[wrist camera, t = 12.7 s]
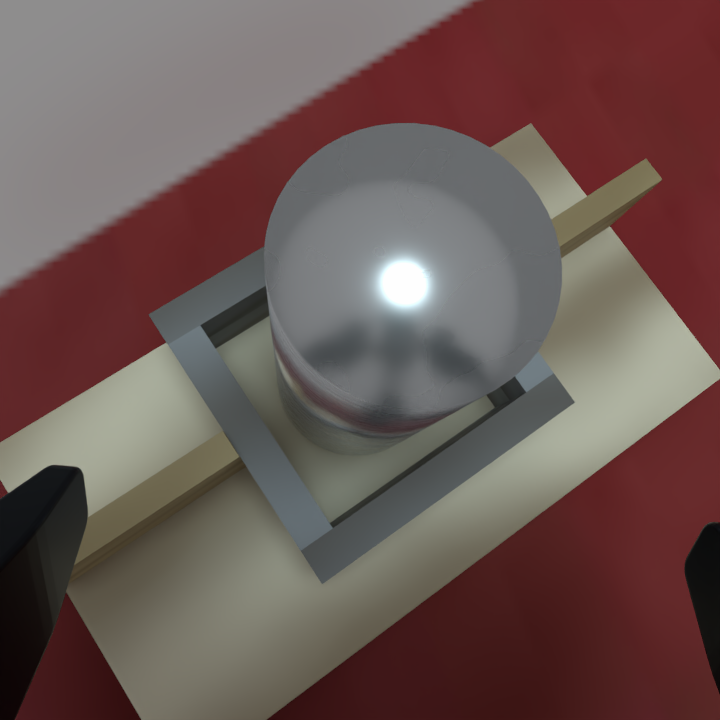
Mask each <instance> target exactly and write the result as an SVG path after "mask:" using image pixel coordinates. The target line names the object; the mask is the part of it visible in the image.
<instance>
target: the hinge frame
mask: <svg viewBox="0 0 720 720" xmlns="http://www.w3.org/2000/svg"><path fill="white" fill-rule="evenodd" d="M491 149H492V150H494V151H495V152H497V153H498V154H500V155H501V156H502V157H504V158H505V159H506V160H507V161H508V162H509V163H511V164H512V165H513V166H514V167H515V168H516V169H517V170H518V171H519V172H520V173H521V174H522V175H523V176H524V177H525V178H526V180H527V181H528V182H529V183H530V185H531V186H532V187H533V189H534V190H535V191H536V193H537V194H538V196H539V197H540V199H541V201H542V203H543V204H544V206H545V208H546V210H547V211H548V214H549V216H550V219H551V221H552V223H553V226H554V228H555V232H556V235H557V239H558V243H559V247H560V254H561V262H562V287H561V294H560V301H559V305H558V309H557V312H556V316H555V319H554V322H553V324H552V326H551V329H550V331H549V333H548V335H547V337H546V339H545V341H544V342H543V344H542V345H541V347H540V349H539V350H538V352H537V353H536V354H535V355H534V357H533V358H532V359H531V360H530V361H529V363H528V364H527V365H526V366H525V367H524V368H523V369H522V370H521V371H520V372H519V373H518V374H516V375H515V376H514V377H513V378H512V379H511V380H509V381H508V382H506V383H505V384H503V385H502V386H500V387H499V388H497V389H496V390H494V391H493V392H491V393H489V394H487V395H485V396H484V397H482V398H480V399H478V400H476V401H475V402H473V403H471V404H469V405H467V406H465V407H464V408H462V409H460V410H458V411H456V412H455V413H453V414H451V415H449V416H447V417H446V418H444V419H442V420H440V421H438V422H437V423H435V424H433V425H431V426H429V427H428V428H426V429H424V430H422V431H420V432H418V433H417V434H415V435H413V436H411V437H409V438H408V439H406V440H404V441H402V442H400V443H399V444H397V445H395V446H393V447H391V448H389V449H387V450H384V451H381V452H378V453H374V454H369V455H359V456H353V455H343V454H339V453H334V452H331V451H329V450H326V449H324V448H322V447H320V446H318V445H316V444H314V443H313V442H311V441H310V440H309V439H307V438H306V437H305V436H304V435H303V434H302V433H300V432H299V431H298V429H297V428H296V427H295V426H294V425H293V423H292V422H291V420H290V419H289V417H288V416H287V414H286V412H285V410H284V408H283V405H282V402H281V399H280V396H279V391H278V385H277V376H276V367H275V359H274V350H273V341H272V333H271V324H270V315H269V307H268V298H267V290H266V281H265V272H264V248H265V246H264V247H262V248H261V249H259V250H257V251H256V252H254V253H252V254H251V255H249V256H247V257H245V258H244V259H242V260H240V261H239V262H237V263H235V264H234V265H232V266H230V267H229V268H227V269H225V270H223V271H222V272H220V273H218V274H217V275H215V276H213V277H212V278H210V279H208V280H206V281H205V282H203V283H201V284H200V285H198V286H196V287H195V288H193V289H191V290H189V291H188V292H186V293H184V294H183V295H181V296H179V297H178V298H176V299H174V300H172V301H171V302H169V303H167V304H166V305H164V306H162V307H161V308H159V309H157V310H155V311H154V312H152V313H150V314H149V316H150V318H151V319H152V321H153V322H154V324H155V325H156V327H157V328H158V330H159V332H160V333H161V335H162V336H163V338H164V339H165V341H166V342H167V343H165V344H163V345H162V346H160V347H158V348H157V349H155V350H153V351H152V352H150V353H148V354H147V355H145V356H143V357H142V358H140V359H138V360H137V361H135V362H133V363H132V364H130V365H128V366H127V367H125V368H123V369H122V370H120V371H118V372H117V373H115V374H113V375H112V376H110V377H108V378H107V379H105V380H104V381H102V382H100V383H99V384H97V385H95V386H94V387H92V388H90V389H89V390H87V391H85V392H84V393H82V394H80V395H79V396H77V397H75V398H74V399H72V400H70V401H69V402H67V403H65V404H64V405H62V406H60V407H59V408H57V409H55V410H54V411H52V412H50V413H49V414H47V415H45V416H44V417H42V418H40V419H39V420H37V421H35V422H34V423H32V424H30V425H29V426H27V427H25V428H24V429H22V430H20V431H19V432H17V433H15V434H14V435H12V436H10V437H9V438H7V439H5V440H4V441H2V442H0V480H1V481H2V483H3V485H4V487H5V488H6V490H7V492H8V493H9V492H11V491H12V490H14V489H15V488H17V487H18V486H19V485H21V484H22V483H24V482H25V481H27V480H28V479H30V478H31V477H32V476H34V475H35V474H37V473H38V472H40V471H41V470H42V469H44V468H46V467H47V466H50V465H64V466H75V467H78V468H80V469H81V470H82V472H83V475H84V482H85V490H86V498H87V506H88V519H87V525H86V529H85V532H84V535H83V538H82V542H81V545H80V548H79V551H78V554H77V558H76V561H75V564H74V567H73V571H72V574H71V577H70V580H69V583H68V587H67V590H66V592H67V594H68V596H69V597H70V599H71V601H72V602H73V604H74V606H75V607H76V609H77V611H78V613H79V614H80V616H81V618H82V619H83V621H84V623H85V625H86V626H87V628H88V630H89V631H90V633H91V635H92V636H93V638H94V640H95V642H96V643H97V645H98V647H99V648H100V650H101V652H102V653H103V655H104V657H105V659H106V660H107V662H108V664H109V665H110V667H111V669H112V670H113V672H114V674H115V676H116V677H117V679H118V681H119V682H120V684H121V686H122V688H123V689H124V691H125V693H126V694H127V696H128V698H129V699H130V701H131V703H132V705H133V706H134V708H135V710H136V711H137V713H138V715H139V716H140V718H141V720H267V719H268V718H269V717H271V716H272V715H273V714H275V713H276V712H277V711H278V710H280V709H281V708H282V707H284V706H285V705H286V704H288V703H289V702H290V701H292V700H293V699H294V698H296V697H297V696H298V695H300V694H301V693H302V692H304V691H305V690H306V689H308V688H309V687H310V686H312V685H313V684H314V683H316V682H317V681H318V680H320V679H321V678H322V677H324V676H325V675H326V674H328V673H329V672H330V671H332V670H333V669H334V668H336V667H337V666H338V665H340V664H341V663H342V662H344V661H345V660H346V659H348V658H349V657H350V656H352V655H353V654H354V653H356V652H357V651H358V650H360V649H361V648H362V647H364V646H365V645H366V644H368V643H369V642H370V641H372V640H373V639H374V638H376V637H377V636H378V635H380V634H381V633H382V632H384V631H385V630H386V629H388V628H389V627H390V626H392V625H393V624H394V623H395V622H397V621H398V620H399V619H401V618H402V617H403V616H405V615H406V614H407V613H409V612H410V611H411V610H413V609H414V608H415V607H417V606H418V605H419V604H421V603H422V602H423V601H425V600H426V599H427V598H429V597H430V596H431V595H433V594H434V593H435V592H437V591H438V590H439V589H441V588H442V587H443V586H445V585H446V584H447V583H449V582H450V581H451V580H453V579H454V578H455V577H457V576H458V575H459V574H461V573H462V572H463V571H465V570H466V569H467V568H469V567H470V566H471V565H473V564H474V563H475V562H477V561H478V560H479V559H481V558H482V557H483V556H485V555H486V554H487V553H489V552H490V551H491V550H493V549H494V548H495V547H497V546H498V545H499V544H501V543H502V542H503V541H505V540H506V539H507V538H508V537H510V536H511V535H512V534H514V533H515V532H516V531H518V530H519V529H520V528H522V527H523V526H524V525H526V524H527V523H528V522H530V521H531V520H532V519H534V518H535V517H536V516H538V515H539V514H540V513H542V512H543V511H544V510H546V509H547V508H548V507H550V506H551V505H552V504H554V503H555V502H556V501H558V500H559V499H560V498H562V497H563V496H564V495H566V494H567V493H568V492H570V491H571V490H572V489H574V488H575V487H576V486H578V485H579V484H580V483H582V482H583V481H584V480H586V479H587V478H588V477H590V476H591V475H592V474H594V473H595V472H596V471H598V470H599V469H600V468H602V467H603V466H604V465H606V464H607V463H608V462H610V461H611V460H612V459H614V458H615V457H616V456H618V455H619V454H620V453H622V452H623V451H624V450H625V449H627V448H628V447H629V446H631V445H632V444H633V443H635V442H636V441H637V440H639V439H640V438H641V437H643V436H644V435H645V434H647V433H648V432H649V431H651V430H652V429H653V428H655V427H656V426H657V425H659V424H660V423H661V422H663V421H664V420H665V419H667V418H668V417H669V416H671V415H672V414H673V413H675V412H676V411H677V410H679V409H680V408H681V407H683V406H684V405H685V404H687V403H688V402H689V401H691V400H692V399H693V398H695V397H696V396H697V395H699V394H700V393H701V392H703V391H704V390H705V389H707V388H708V387H709V386H711V385H712V384H713V383H715V382H716V381H717V380H719V379H720V370H719V369H718V367H717V366H716V365H715V363H714V362H713V361H712V359H711V358H710V357H709V356H708V354H707V353H706V352H705V350H704V349H703V348H702V346H701V345H700V344H699V342H698V341H697V340H696V339H695V337H694V336H693V335H692V333H691V332H690V331H689V329H688V328H687V327H686V325H685V324H684V323H683V322H682V320H681V319H680V318H679V316H678V315H677V314H676V312H675V311H674V310H673V308H672V307H671V306H670V305H669V303H668V302H667V301H666V299H665V298H664V297H663V295H662V294H661V293H660V291H659V290H658V289H657V288H656V286H655V285H654V284H653V282H652V281H651V280H650V278H649V277H648V276H647V274H646V273H645V272H644V271H643V269H642V268H641V267H640V265H639V264H638V263H637V261H636V260H635V259H634V257H633V256H632V255H631V254H630V252H629V251H628V250H627V248H626V247H625V246H624V244H623V243H622V242H621V240H620V239H619V238H618V237H617V235H616V234H615V233H614V231H613V230H612V229H611V227H610V225H612V224H613V223H614V222H615V221H616V220H617V219H618V218H619V217H621V216H622V215H623V214H624V213H625V212H626V211H627V210H628V209H630V208H631V207H632V206H633V205H634V204H635V203H636V202H638V201H639V200H640V199H641V198H642V197H643V196H644V195H645V194H647V193H648V192H649V191H650V190H651V189H652V188H653V187H654V186H656V185H657V184H658V183H659V182H660V181H661V180H662V178H661V177H660V176H659V174H658V173H657V172H656V171H655V169H654V168H653V167H652V166H651V164H650V163H649V162H648V160H647V159H644V160H643V161H641V162H640V163H638V164H637V165H635V166H634V167H632V168H630V169H629V170H627V171H626V172H624V173H623V174H621V175H620V176H618V177H616V178H615V179H613V180H612V181H610V182H609V183H607V184H606V185H604V186H602V187H601V188H599V189H598V190H596V191H595V192H593V193H592V194H590V195H588V196H586V195H585V193H584V192H583V191H582V189H581V188H580V187H579V186H578V184H577V183H576V182H575V180H574V179H573V178H572V176H571V175H570V174H569V172H568V171H567V170H566V169H565V167H564V166H563V165H562V163H561V162H560V161H559V159H558V158H557V157H556V155H555V154H554V153H553V152H552V150H551V149H550V148H549V146H548V145H547V144H546V142H545V141H544V140H543V138H542V137H541V136H540V135H539V133H538V132H537V131H536V129H535V128H534V127H533V125H532V124H529V125H527V126H526V127H524V128H522V129H521V130H519V131H517V132H516V133H514V134H512V135H511V136H509V137H507V138H506V139H504V140H502V141H501V142H499V143H497V144H496V145H494V146H492V147H491Z"/></svg>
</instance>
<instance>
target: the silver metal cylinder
mask: <svg viewBox="0 0 720 720" xmlns="http://www.w3.org/2000/svg"><path fill="white" fill-rule="evenodd" d="M264 272H265V281H266V290H267V298H268V307H269V315H270V324H271V333H272V341H273V350H274V359H275V367H276V376H277V385H278V391H279V396H280V399H281V402H282V405H283V408H284V410H285V412H286V414H287V416H288V417H289V419H290V420H291V422H292V423H293V425H294V426H295V427H296V428H297V429H298V431H299V432H300V433H302V434H303V435H304V436H305V437H306V438H307V439H309V440H310V441H311V442H313V443H314V444H316V445H318V446H320V447H322V448H324V449H326V450H329V451H331V452H334V453H339V454H343V455H353V456H359V455H369V454H374V453H378V452H381V451H384V450H387V449H389V448H391V447H393V446H395V445H397V444H399V443H400V442H402V441H404V440H406V439H408V438H409V437H411V436H413V435H415V434H417V433H418V432H420V431H422V430H424V429H426V428H428V427H429V426H431V425H433V424H435V423H437V422H438V421H440V420H442V419H444V418H446V417H447V416H449V415H451V414H453V413H455V412H456V411H458V410H460V409H462V408H464V407H465V406H467V405H469V404H471V403H473V402H475V401H476V400H478V399H480V398H482V397H484V396H485V395H487V394H489V393H491V392H493V391H494V390H496V389H497V388H499V387H500V386H502V385H503V384H505V383H506V382H508V381H509V380H511V379H512V378H513V377H514V376H515V375H516V374H518V373H519V372H520V371H521V370H522V369H523V368H524V367H525V366H526V365H527V364H528V363H529V361H530V360H531V359H532V358H533V357H534V355H535V354H536V353H537V352H538V350H539V349H540V347H541V345H542V344H543V342H544V341H545V339H546V337H547V335H548V333H549V331H550V329H551V326H552V324H553V322H554V319H555V316H556V312H557V309H558V305H559V301H560V294H561V287H562V262H561V254H560V247H559V243H558V239H557V235H556V232H555V228H554V226H553V223H552V221H551V219H550V216H549V214H548V211H547V210H546V208H545V206H544V204H543V203H542V201H541V199H540V197H539V196H538V194H537V193H536V191H535V190H534V189H533V187H532V186H531V185H530V183H529V182H528V181H527V180H526V178H525V177H524V176H523V175H522V174H521V173H520V172H519V171H518V170H517V169H516V168H515V167H514V166H513V165H512V164H511V163H509V162H508V161H507V160H506V159H505V158H504V157H502V156H501V155H500V154H498V153H497V152H495V151H494V150H492V149H491V148H489V147H488V146H486V145H484V144H482V143H480V142H479V141H477V140H475V139H473V138H471V137H469V136H466V135H463V134H461V133H458V132H455V131H453V130H449V129H445V128H441V127H437V126H432V125H424V124H416V123H394V124H386V125H377V126H373V127H369V128H365V129H361V130H358V131H355V132H353V133H350V134H348V135H345V136H342V137H341V138H339V139H337V140H335V141H333V142H331V143H330V144H328V145H326V146H325V147H323V148H322V149H320V150H319V151H318V152H316V153H315V154H314V155H312V156H311V157H310V158H309V159H308V160H307V161H306V162H305V163H304V164H303V165H302V166H301V167H300V168H299V169H298V170H297V171H296V172H295V174H294V175H293V176H292V177H291V179H290V180H289V181H288V182H287V184H286V186H285V187H284V189H283V191H282V192H281V194H280V196H279V197H278V199H277V202H276V204H275V207H274V209H273V211H272V214H271V216H270V220H269V224H268V228H267V232H266V238H265V248H264Z"/></svg>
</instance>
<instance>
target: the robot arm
mask: <svg viewBox="0 0 720 720" xmlns="http://www.w3.org/2000/svg"><path fill="white" fill-rule="evenodd" d="M87 519H88V506H87V498H86V490H85V482H84V475H83V472H82V470H81V469H80V468H78V467H75V466H64V465H50V466H47V467H46V468H44V469H42V470H41V471H40V472H38V473H37V474H35V475H34V476H32V477H31V478H30V479H28V480H27V481H25V482H24V483H22V484H21V485H19V486H18V487H17V488H15V489H14V490H12V491H11V492H9V493H8V494H6V495H5V496H4V497H2V498H1V499H0V720H15V718H16V716H17V713H18V711H19V709H20V707H21V704H22V702H23V700H24V697H25V695H26V693H27V691H28V688H29V686H30V684H31V682H32V679H33V677H34V675H35V672H36V670H37V668H38V666H39V663H40V661H41V659H42V657H43V654H44V652H45V650H46V647H47V645H48V643H49V640H50V638H51V635H52V633H53V630H54V627H55V624H56V621H57V618H58V615H59V612H60V609H61V606H62V603H63V600H64V596H65V593H66V590H67V587H68V583H69V580H70V577H71V574H72V571H73V567H74V564H75V561H76V558H77V554H78V551H79V548H80V545H81V542H82V538H83V535H84V532H85V529H86V525H87ZM685 577H686V581H687V585H688V588H689V592H690V596H691V599H692V603H693V606H694V610H695V614H696V617H697V621H698V625H699V628H700V632H701V636H702V639H703V643H704V647H705V650H706V654H707V658H708V661H709V664H710V668H711V671H712V674H713V677H714V680H715V683H716V685H717V688H718V691H719V694H720V522H711V523H708V524H707V525H705V526H704V528H703V529H702V531H701V533H700V535H699V536H698V538H697V540H696V542H695V543H694V545H693V547H692V549H691V551H690V552H689V554H688V556H687V558H686V561H685Z"/></svg>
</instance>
